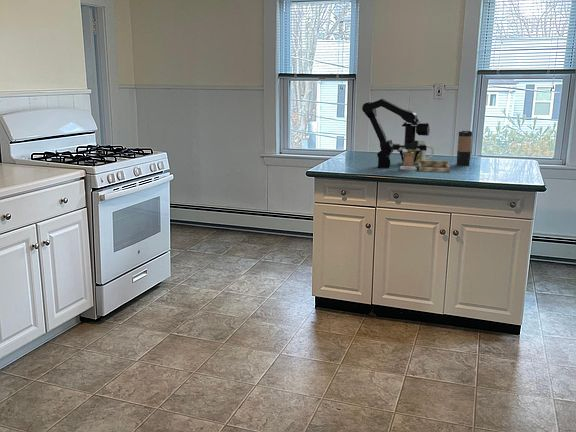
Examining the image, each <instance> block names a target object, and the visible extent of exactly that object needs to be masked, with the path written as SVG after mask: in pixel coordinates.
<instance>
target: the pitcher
mask: <svg viewBox="0 0 576 432" xmlns="http://www.w3.org/2000/svg"><path fill="white" fill-rule="evenodd" d="M417 141H418V146H419V144H425V145H426V146H427V149H428V148H430V150H431V154H430V155H429V156H428V157H426V155H427V150H426V151H421V152H419V154H418V155H417V158H416V160H415V163H414V165H415V164H417V165H418V160H425V161H429V160H430V159H431V158H432V157H433V156H434V153H435V152H434V151H435V150H434V147H433V146H432V145H427V141H424V140H417ZM403 142H405V139H404V140H403ZM408 150H409V149H408ZM408 150H406V152H407V151H408ZM410 150H411V149H410ZM415 151H416V149H414V150H411V152H415ZM414 157H415V154H414Z"/></svg>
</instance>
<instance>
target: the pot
mask: <svg viewBox="0 0 576 432" xmlns="http://www.w3.org/2000/svg"><path fill="white" fill-rule="evenodd" d="M414 154H415V152H411V150H410V149H409V150H408V151H407V150H406V151H403V162H402V166H414V165H415V163H414Z"/></svg>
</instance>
